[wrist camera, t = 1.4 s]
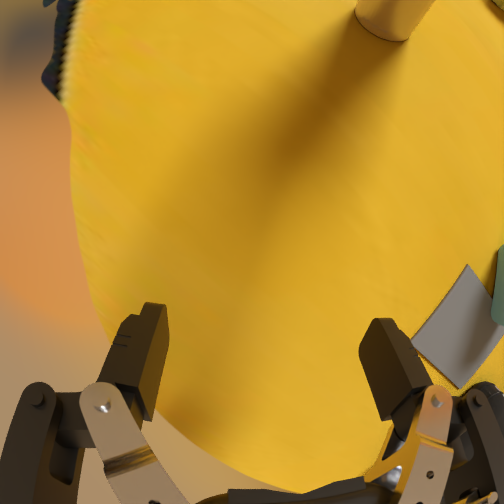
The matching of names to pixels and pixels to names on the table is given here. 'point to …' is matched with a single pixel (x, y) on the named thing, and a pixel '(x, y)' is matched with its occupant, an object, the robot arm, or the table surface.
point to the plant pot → (499, 3)
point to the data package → (499, 291)
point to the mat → (460, 330)
